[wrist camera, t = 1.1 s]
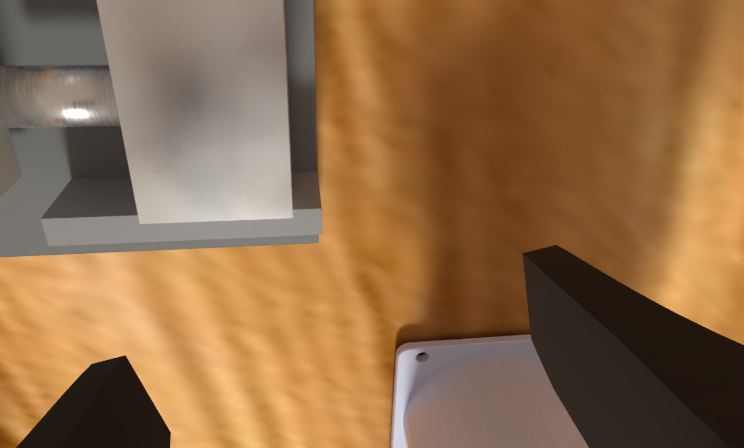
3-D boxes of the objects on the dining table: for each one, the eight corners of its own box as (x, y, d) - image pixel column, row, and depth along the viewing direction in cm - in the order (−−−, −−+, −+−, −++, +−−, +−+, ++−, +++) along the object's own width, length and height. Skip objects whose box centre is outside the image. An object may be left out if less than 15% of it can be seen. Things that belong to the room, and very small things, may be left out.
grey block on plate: (283, -26, 14) (282, -6, 11) (291, 161, 17) (292, 218, 14) (2, -30, 14) (-79, -10, 11) (54, 167, 16) (0, 229, 13)
